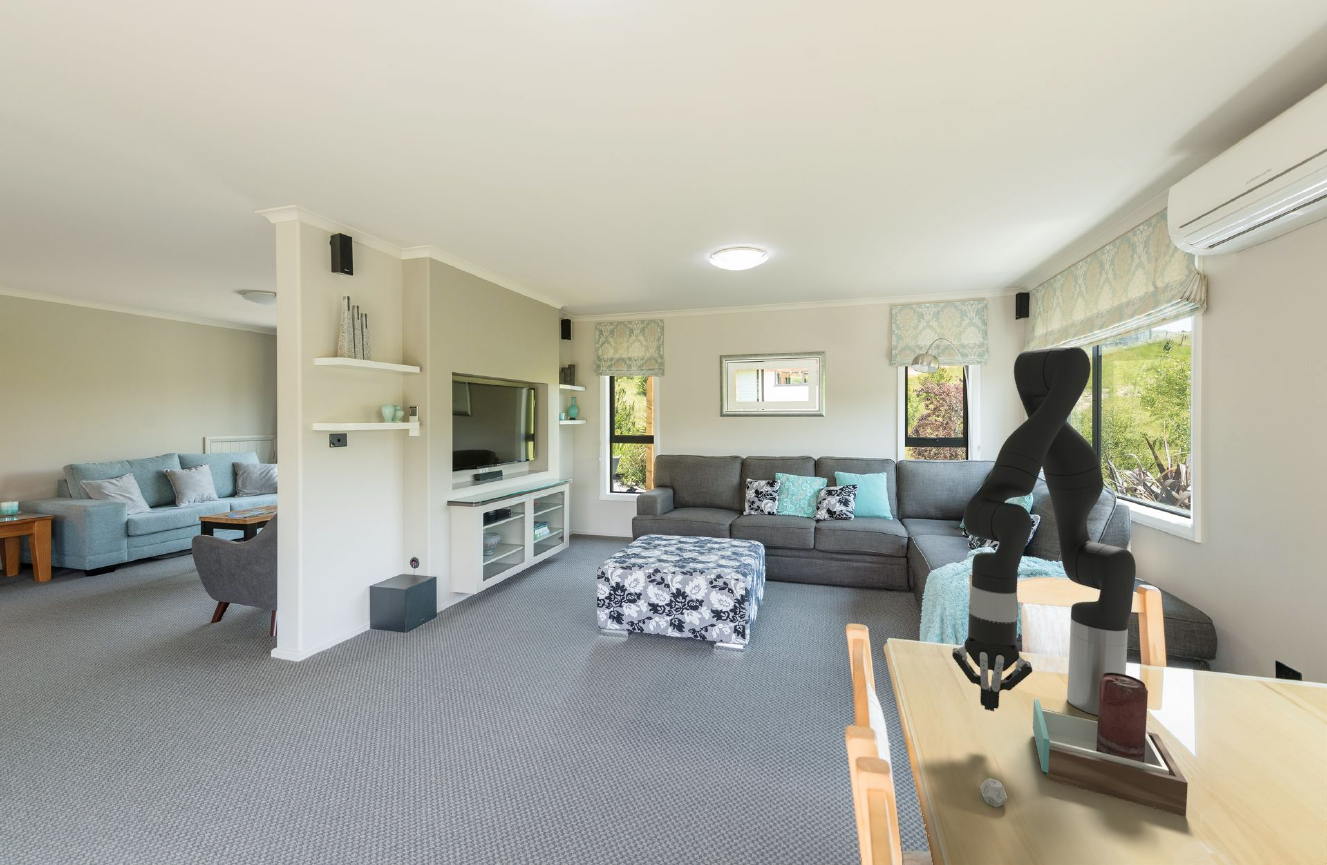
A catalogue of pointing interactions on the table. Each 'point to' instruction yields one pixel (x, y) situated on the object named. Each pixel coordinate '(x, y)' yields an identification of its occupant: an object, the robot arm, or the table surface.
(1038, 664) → the table surface
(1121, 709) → the can
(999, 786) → the game die
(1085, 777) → the tray stand
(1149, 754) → the tray
